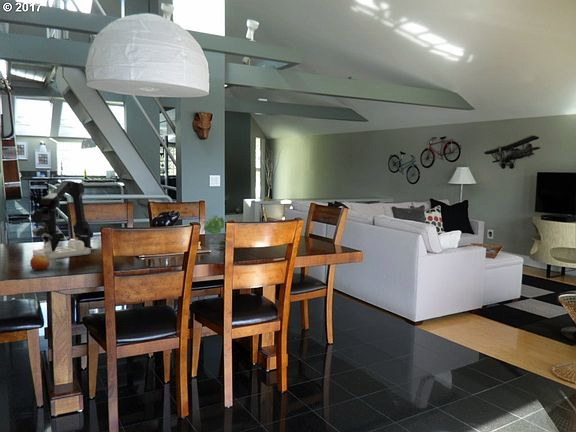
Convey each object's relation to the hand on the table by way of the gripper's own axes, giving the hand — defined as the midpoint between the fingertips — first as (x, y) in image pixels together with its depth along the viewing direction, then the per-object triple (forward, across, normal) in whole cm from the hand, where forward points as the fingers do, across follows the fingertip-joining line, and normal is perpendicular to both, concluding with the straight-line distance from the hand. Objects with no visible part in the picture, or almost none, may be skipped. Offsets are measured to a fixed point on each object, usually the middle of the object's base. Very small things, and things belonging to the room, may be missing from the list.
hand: (51, 250), depth 242 cm
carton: (+4, -4, +8) cm, 9 cm away
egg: (+2, 0, 0) cm, 2 cm away
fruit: (+4, +26, -16) cm, 31 cm away
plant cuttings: (+4, +25, +96) cm, 99 cm away
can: (+4, -39, +17) cm, 42 cm away
